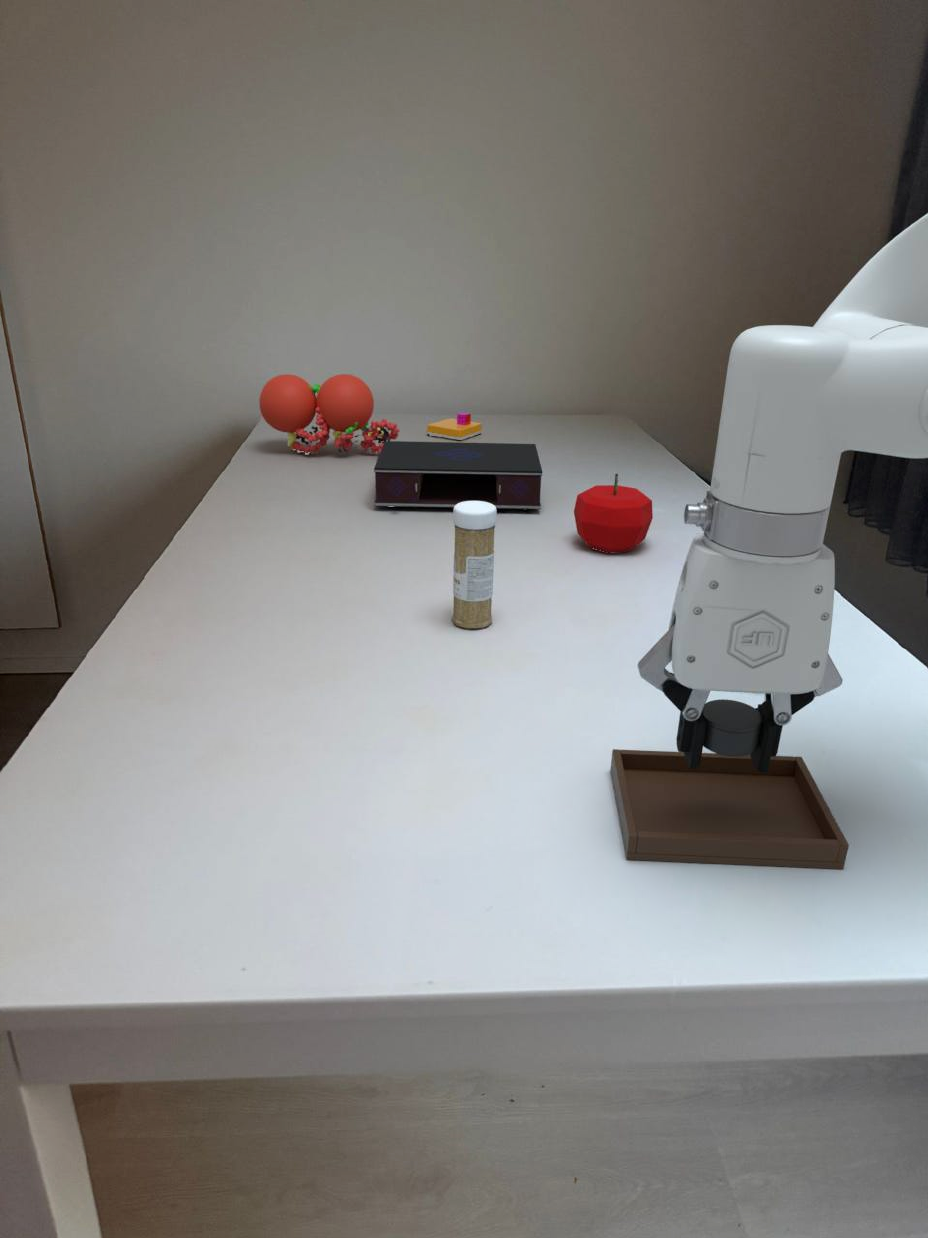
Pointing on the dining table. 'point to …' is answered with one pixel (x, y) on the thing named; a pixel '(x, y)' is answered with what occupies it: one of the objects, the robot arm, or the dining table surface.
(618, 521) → the apple
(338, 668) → the dining table surface
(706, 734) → the flask cap
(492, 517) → the spice jar
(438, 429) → the orange slab with cube
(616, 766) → the tray
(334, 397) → the molecule
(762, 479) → the robot arm
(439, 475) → the low media console
